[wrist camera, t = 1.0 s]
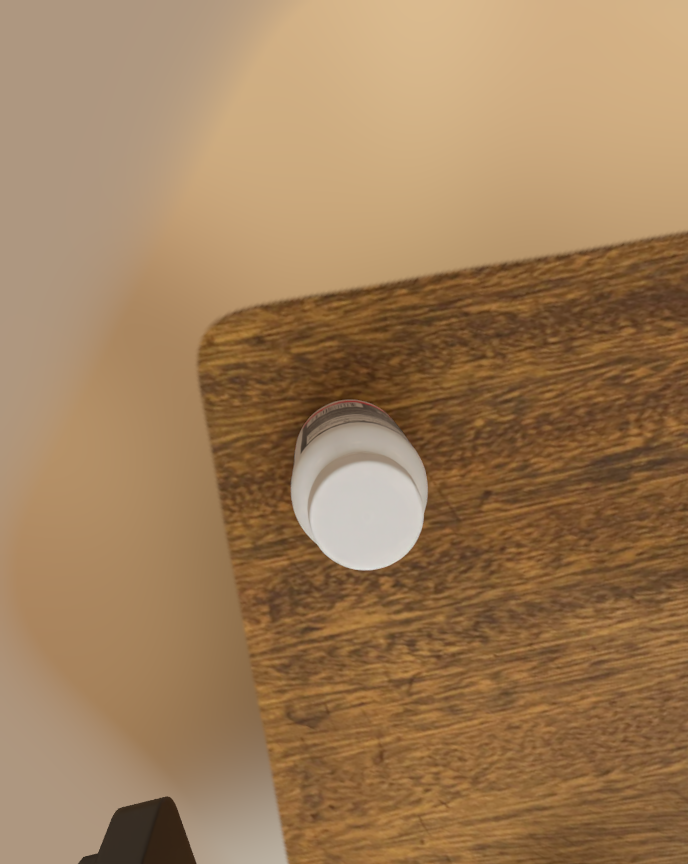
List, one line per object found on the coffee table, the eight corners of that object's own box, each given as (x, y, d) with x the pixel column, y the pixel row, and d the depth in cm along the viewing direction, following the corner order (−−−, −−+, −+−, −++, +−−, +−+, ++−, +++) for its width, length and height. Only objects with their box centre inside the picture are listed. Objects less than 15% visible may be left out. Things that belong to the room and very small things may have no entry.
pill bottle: (385, 515, 31) (416, 606, 22) (282, 487, 31) (268, 569, 21) (417, 414, 30) (464, 464, 21) (312, 384, 30) (311, 421, 20)
